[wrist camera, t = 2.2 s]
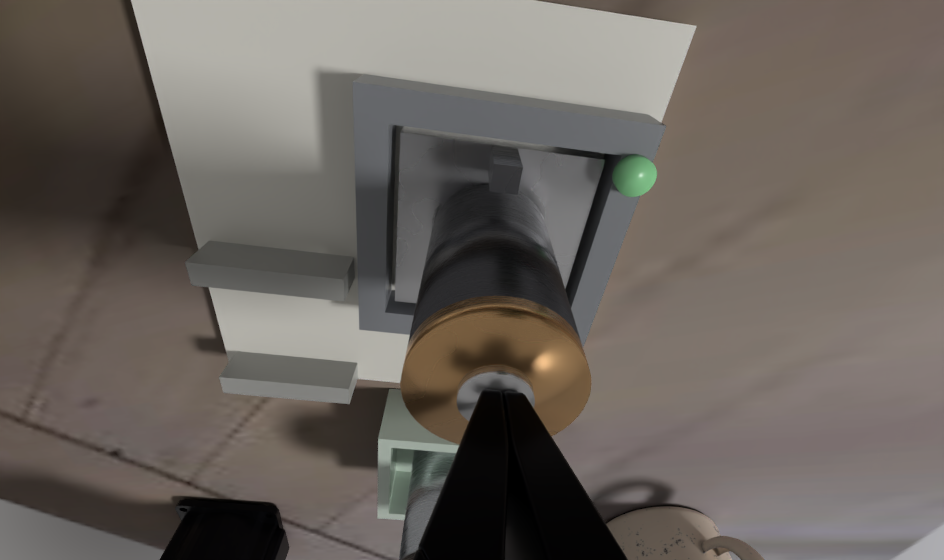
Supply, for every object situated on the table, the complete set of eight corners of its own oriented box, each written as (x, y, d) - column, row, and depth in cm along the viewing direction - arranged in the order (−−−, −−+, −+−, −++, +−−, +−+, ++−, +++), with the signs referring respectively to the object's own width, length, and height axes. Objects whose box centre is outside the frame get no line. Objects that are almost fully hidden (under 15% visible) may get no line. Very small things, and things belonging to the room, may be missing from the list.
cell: (427, 278, 15) (394, 452, 9) (437, 175, 13) (401, 317, 7) (532, 291, 16) (565, 467, 10) (559, 192, 14) (622, 341, 8)
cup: (387, 467, 26) (377, 518, 23) (389, 388, 22) (378, 438, 19) (502, 477, 26) (505, 527, 24) (525, 401, 22) (531, 451, 20)
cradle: (397, 289, 17) (386, 331, 15) (404, 125, 13) (390, 149, 11) (553, 306, 17) (564, 349, 15) (599, 152, 14) (622, 180, 11)
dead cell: (413, 462, 24) (393, 612, 18) (417, 418, 22) (395, 572, 16) (480, 468, 25) (482, 617, 19) (491, 425, 22) (496, 579, 16)
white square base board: (238, 355, 20) (208, 398, 18) (133, -63, 12) (51, -79, 9) (557, 385, 21) (566, 430, 19) (684, 24, 13) (730, 29, 10)
